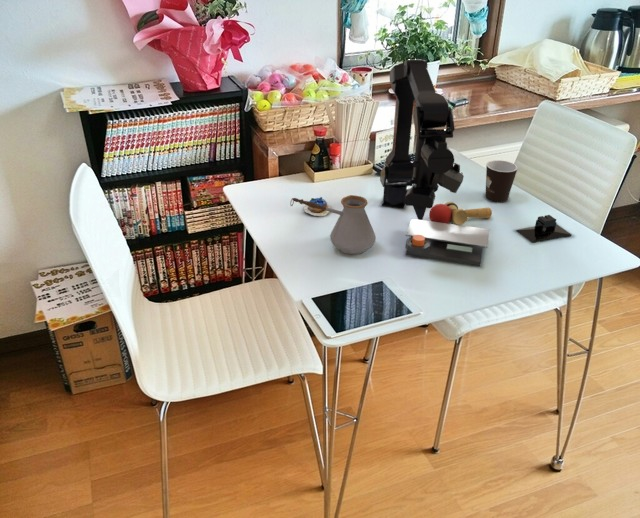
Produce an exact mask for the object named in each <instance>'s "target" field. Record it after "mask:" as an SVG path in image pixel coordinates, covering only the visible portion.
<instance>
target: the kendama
mask: <svg viewBox="0 0 640 518" xmlns="http://www.w3.org/2000/svg"><path fill="white" fill-rule="evenodd" d="M492 214H493V210H492V208H491V207H488V206H487V207H479V208H470V209H469V208H468V209H463V208H459V206H458V205H457V204H456V203H455V202H453V201H446V202H445V203H437V204H435V205H433V207H432V208H430V209H429V213H428V216H429V217H428V218H429V221H432V222H440V223H447V224H450V223H451V222H452V224H454V225H461V226H463V225H464V224H465V223H466V222H467V220H468V218H477V219H478V218H479V219H490V218H491V217H492Z"/></svg>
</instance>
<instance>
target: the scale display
mask: <svg viewBox="0 0 640 518" xmlns="http://www.w3.org/2000/svg"><path fill="white" fill-rule="evenodd" d="M446 249H450V250H456V251H463V252H470V253H472V248H471V247H464V246H458V245H451V244H447V248H446Z"/></svg>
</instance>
